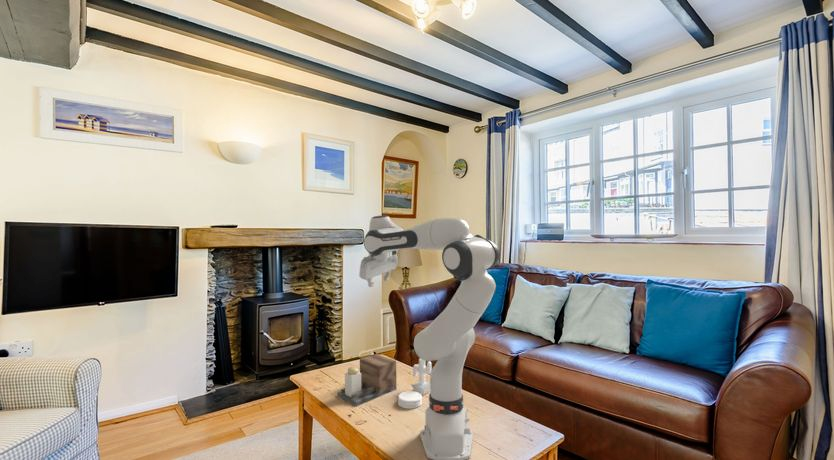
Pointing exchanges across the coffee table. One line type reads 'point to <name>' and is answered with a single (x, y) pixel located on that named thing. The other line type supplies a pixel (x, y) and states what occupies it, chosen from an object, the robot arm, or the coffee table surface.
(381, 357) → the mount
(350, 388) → the knob
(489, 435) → the coffee table surface
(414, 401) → the coaster
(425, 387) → the figurine
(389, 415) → the coffee table surface
